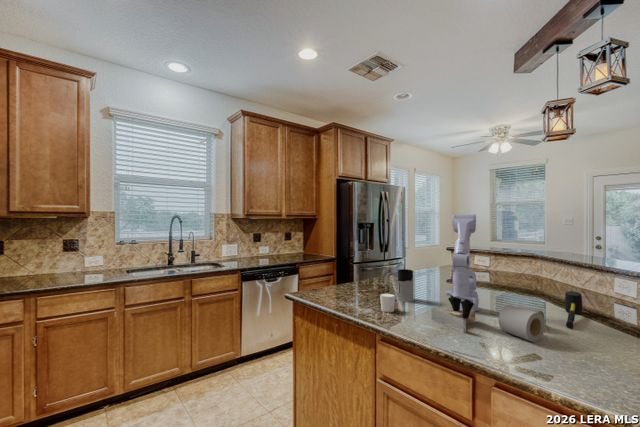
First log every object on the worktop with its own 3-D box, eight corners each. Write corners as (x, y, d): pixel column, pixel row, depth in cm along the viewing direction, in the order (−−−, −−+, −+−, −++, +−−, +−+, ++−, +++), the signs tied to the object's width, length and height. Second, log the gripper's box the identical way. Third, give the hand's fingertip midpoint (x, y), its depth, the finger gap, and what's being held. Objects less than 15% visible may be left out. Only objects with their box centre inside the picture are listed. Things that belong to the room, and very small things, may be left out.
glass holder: (416, 301, 155) (416, 272, 155) (388, 301, 155) (388, 272, 155) (411, 297, 164) (411, 269, 164) (384, 297, 164) (384, 269, 164)
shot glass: (395, 313, 137) (395, 297, 137) (380, 312, 139) (380, 296, 139) (395, 308, 144) (395, 293, 144) (380, 307, 145) (380, 292, 146)
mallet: (580, 331, 116) (580, 306, 116) (560, 327, 120) (560, 303, 120) (582, 313, 138) (582, 291, 138) (565, 310, 142) (565, 289, 142)
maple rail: (467, 319, 129) (467, 309, 129) (475, 322, 126) (475, 311, 126) (446, 324, 124) (446, 312, 124) (453, 326, 121) (453, 315, 121)
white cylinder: (539, 331, 115) (539, 311, 116) (514, 325, 122) (514, 306, 122) (547, 325, 122) (547, 306, 122) (523, 320, 128) (523, 301, 129)
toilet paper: (498, 333, 114) (498, 306, 114) (516, 329, 118) (516, 303, 118) (526, 344, 104) (526, 314, 104) (544, 339, 108) (544, 311, 108)
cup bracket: (473, 330, 116) (473, 317, 116) (463, 332, 114) (463, 319, 114) (440, 317, 131) (440, 306, 131) (431, 319, 129) (431, 307, 129)
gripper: (440, 280, 130) (440, 312, 130) (469, 288, 117) (469, 324, 117) (452, 279, 133) (452, 310, 133) (482, 286, 120) (482, 321, 120)
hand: (461, 316), depth 125 cm, fingers open, 4 cm apart
